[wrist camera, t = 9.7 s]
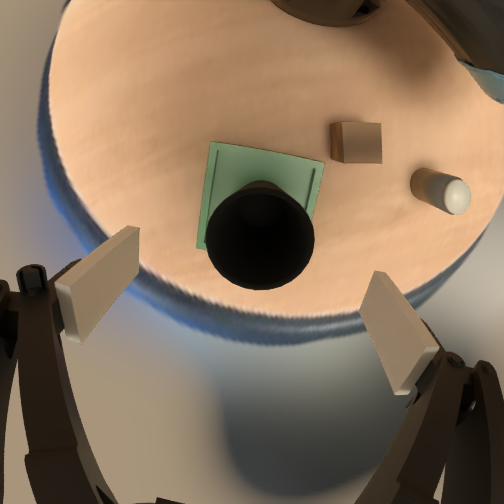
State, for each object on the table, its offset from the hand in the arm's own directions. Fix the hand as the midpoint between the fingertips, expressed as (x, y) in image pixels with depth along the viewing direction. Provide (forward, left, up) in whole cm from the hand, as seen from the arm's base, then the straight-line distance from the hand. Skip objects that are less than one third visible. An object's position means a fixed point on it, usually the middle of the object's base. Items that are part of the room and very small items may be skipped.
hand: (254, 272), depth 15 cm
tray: (0, 0, -18) cm, 18 cm away
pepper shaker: (-7, +19, -18) cm, 27 cm away
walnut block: (-9, +8, -18) cm, 22 cm away
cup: (0, 0, -17) cm, 17 cm away
